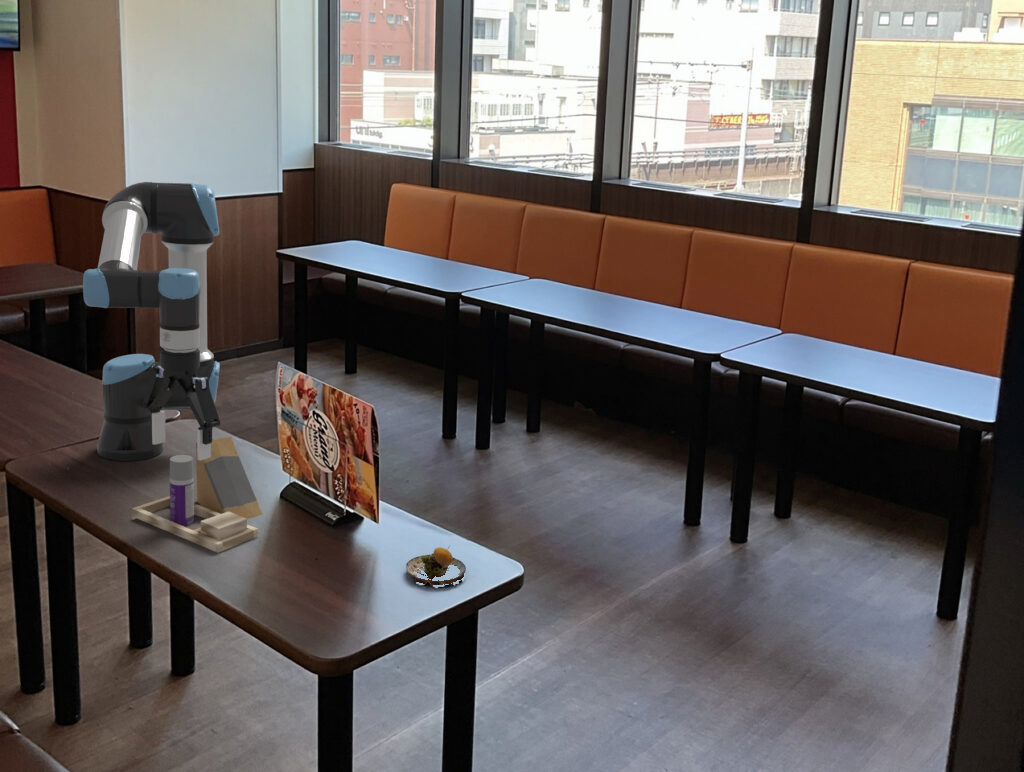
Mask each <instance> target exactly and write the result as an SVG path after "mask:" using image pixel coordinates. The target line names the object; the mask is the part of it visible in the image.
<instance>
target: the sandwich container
mask: <svg viewBox="0 0 1024 772" xmlns="http://www.w3.org/2000/svg"><path fill="white" fill-rule="evenodd" d="M195 462H196V463H195V468H196V472H195V473H196V502H197V503H198V505H200V506H202V507H205V508H208V509H210V510H213V511H215V512H218V513H220V514H223V513H226V512H231V513H234V514H236V515H239V516H241V517H244V518H246V519H247V520H248V519H253V518H256V517H259V516H262V515H263V514H264V513H263V511H262V508H261V507H260V504H259V502H258V499H257V497H256V495H255V492H254V490H253V487H252V485H251V483H250V479H249V478H248V475H247V473H246V470H245V468H244V465H243V464H242V461H241V458H240V455H239V453H238V451H237V449H236V446H235V443H234V440H233V436H231V435H230V436H224V437H218V438H212V443H211V457H210V458H207V459H204V460H198V458H197V441H196V443H195Z"/></svg>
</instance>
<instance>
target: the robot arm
mask: <svg viewBox="0 0 1024 772" xmlns="http://www.w3.org/2000/svg"><path fill="white" fill-rule="evenodd" d="M217 209H218V208H217V203H216V197H215V192H214V190H213V188H212V187H210V186H209V185H205V184H197V183H189V182H187V183H184V182H183V183H182V182H181V183H179V182H178V183H177V182H154V181H153V182H152V181H145V182H144V181H143V182H138V183H134V184H131V185H129V186H126V187H125V188H122V189H121V190H120V191H117V193H115V194H114V195H113V196H112V197H111V198H110V199H109V200H108V201H107V203H106V204H105V207H104V208H103V212H102V217H101V222H102V226H103V229H104V233H103V239H102V242H101V250H100V254H99V259H98V264H97V268H93V269H92V268H89V269H87V270H85V271H84V273H83V278H82V293H83V294H82V295H83V302H84V303H85V304H86V306H88V307H92V308H93V307H95V308H96V307H97V308H103V309H108V308H120V309H122V308H124V309H125V308H130V309H131V308H135V309H138V308H139V309H141V308H142V309H159V312H158V313H159V346H160V347H161V349H160V350H159V361H155V358H154V356H153V355H152V354H145V353H132V354H131V353H130V354H126V355H121V356H120V355H119V356H117V357H115V358H112V359H110V360H108V361H107V362H106V363H104V365H103V367H102V380H101V384H102V392H103V394H102V395H103V424H102V427H101V430H100V432H99V433H100V434H99V438H98V440H97V442H96V451H97V455H99V457H101V458H105V459H107V460H110V461H111V460H112V461H119V462H120V461H121V462H127V461H129V462H131V461H132V462H133V461H141V460H142V461H143V460H146V459H147V460H149V459H151V458H154V457H156V456H159V455H161V454H162V452H163V451H164V443H167V442H166V441H167V440H166V437H167V436H166V435H167V434H166V411H189V410H190V411H192V413H193V415H194V417H195V420H196V421H197V424H199V427H197V428H196V430H197V431H196V432H197V433H196V434H197V436H196V438H197V440H196V442H197V458H198V460H204V459H207V458H210V457H211V443H212V439H213V428H216V427H218V426H220V425H221V419H220V417H219V414H218V412H217V407H216V405H215V404H216V399H217V391H218V386H219V377H220V369H221V368H220V367H221V364H220V362H218V361H217V360H215V359H214V358H215V357H214V353H213V352H211V351H210V349H208V293H207V292H208V281H207V279H208V277H207V275H208V274H207V273H208V272H207V271H208V270H207V268H208V267H207V266H208V265H207V263H208V262H207V261H208V259H207V258H208V256H207V255H208V254H207V253H208V249H209V248H210V247H211V246H212V245H214V237H217V236H219V235H220V227H219V218H218V217H219V216H218V210H217ZM144 234H161V236H160V237H161V243H162V245H164V246H165V247H166V248H167V249H168V268H166V269H163V270H142V269H141V270H138V265H139V256H140V251H141V250H140V249H141V242H142V236H143V235H144Z"/></svg>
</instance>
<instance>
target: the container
mask: <svg viewBox="0 0 1024 772" xmlns="http://www.w3.org/2000/svg"><path fill="white" fill-rule="evenodd" d="M194 479H195V478H194V457H193V456H191V455H188V454H187V455H186V454H177V455H173V456H171V457H170V458H169V496H170V507H169V515H170V516H169V517H170V521H172V522H174V523H177V524H179V525H182V526H184V527H185V526H189V525H192V524H193V523H194V521H195V514H194V503H195V493H194V491H195V490H194V488H195V485H194V484H195V483H194V481H195V480H194Z"/></svg>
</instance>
